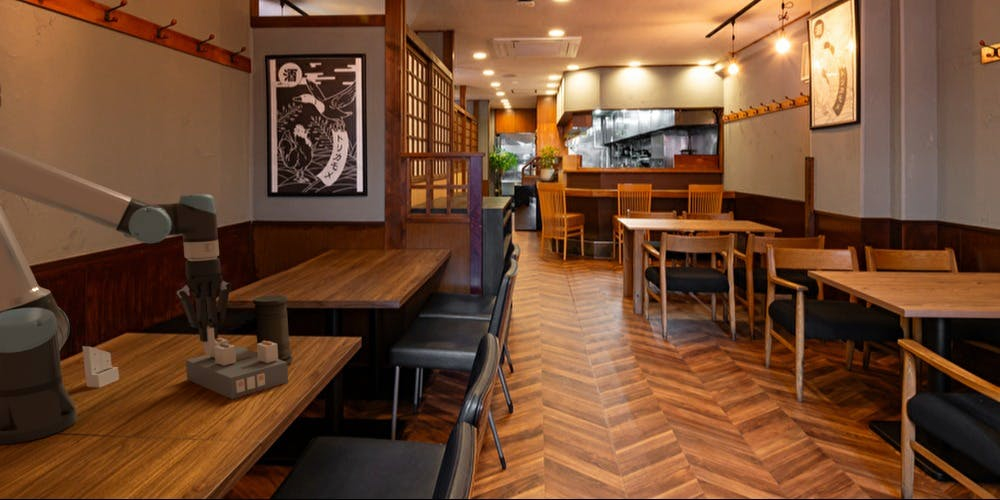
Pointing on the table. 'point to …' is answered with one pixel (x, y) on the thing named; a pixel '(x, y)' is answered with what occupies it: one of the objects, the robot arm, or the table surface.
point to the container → (273, 324)
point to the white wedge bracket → (98, 367)
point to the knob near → (267, 351)
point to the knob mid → (225, 354)
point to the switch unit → (236, 373)
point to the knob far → (218, 341)
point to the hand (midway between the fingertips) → (210, 353)
